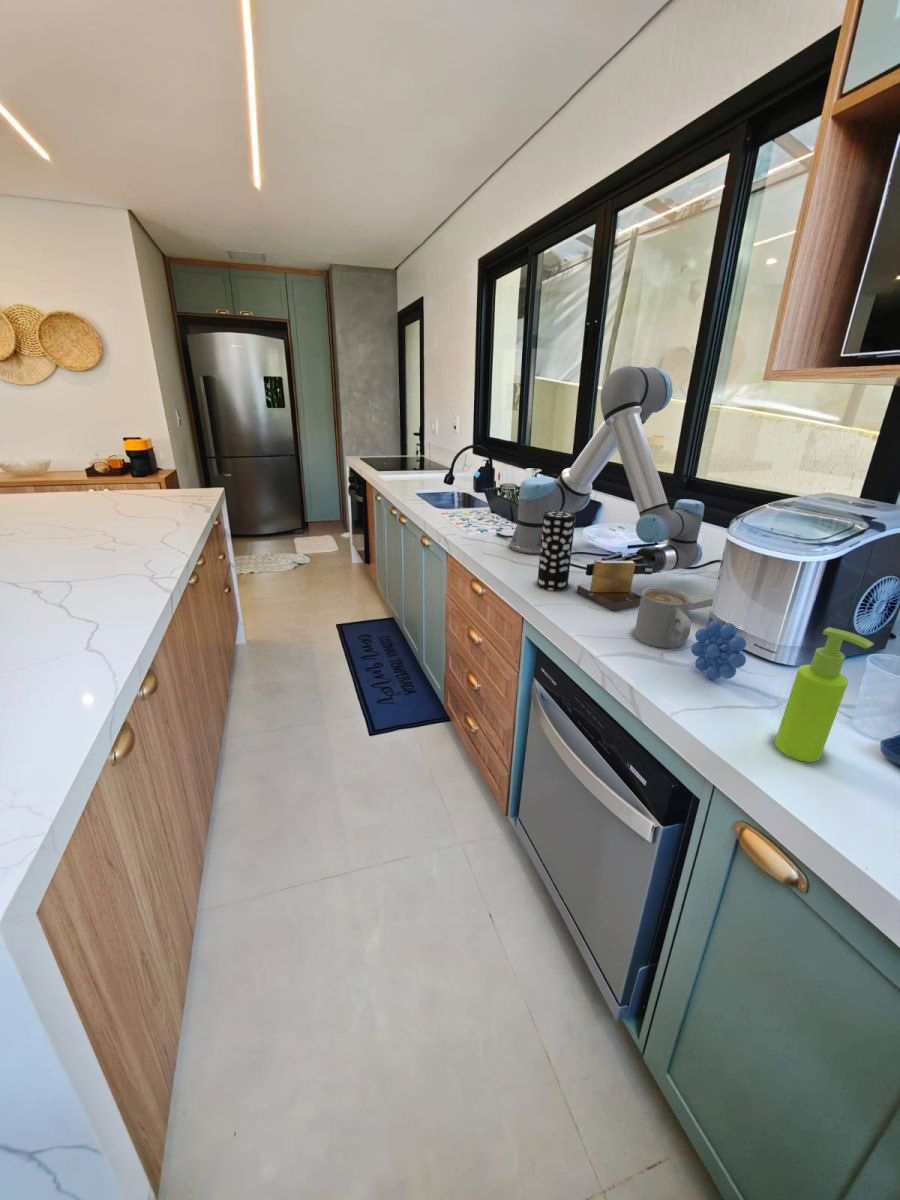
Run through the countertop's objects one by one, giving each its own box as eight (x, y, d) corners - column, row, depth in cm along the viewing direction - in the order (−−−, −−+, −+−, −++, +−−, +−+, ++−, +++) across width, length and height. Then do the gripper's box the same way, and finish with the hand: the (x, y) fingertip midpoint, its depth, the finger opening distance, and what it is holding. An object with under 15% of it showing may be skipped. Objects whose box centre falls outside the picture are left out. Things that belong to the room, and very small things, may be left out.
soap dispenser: (818, 771, 72) (865, 647, 64) (767, 745, 77) (805, 628, 70) (834, 756, 75) (880, 636, 68) (784, 732, 80) (822, 618, 73)
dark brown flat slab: (649, 603, 129) (651, 595, 128) (607, 612, 123) (608, 604, 122) (610, 585, 141) (611, 578, 140) (570, 593, 135) (571, 585, 134)
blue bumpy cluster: (754, 691, 92) (771, 632, 87) (724, 696, 90) (740, 636, 85) (706, 660, 102) (720, 606, 97) (678, 665, 100) (691, 609, 95)
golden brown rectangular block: (627, 589, 132) (632, 559, 129) (630, 592, 131) (635, 562, 127) (590, 589, 132) (594, 559, 129) (592, 592, 130) (596, 561, 127)
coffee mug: (628, 627, 116) (635, 586, 112) (671, 628, 116) (679, 587, 112) (649, 655, 103) (658, 611, 99) (697, 656, 103) (708, 611, 100)
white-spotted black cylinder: (535, 588, 138) (541, 516, 130) (539, 578, 145) (545, 509, 137) (566, 592, 135) (574, 519, 128) (568, 582, 143) (576, 512, 135)
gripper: (669, 579, 136) (602, 592, 126) (635, 565, 146) (570, 575, 137) (675, 553, 133) (606, 563, 123) (639, 540, 143) (573, 549, 134)
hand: (587, 570), depth 130 cm, fingers closed
